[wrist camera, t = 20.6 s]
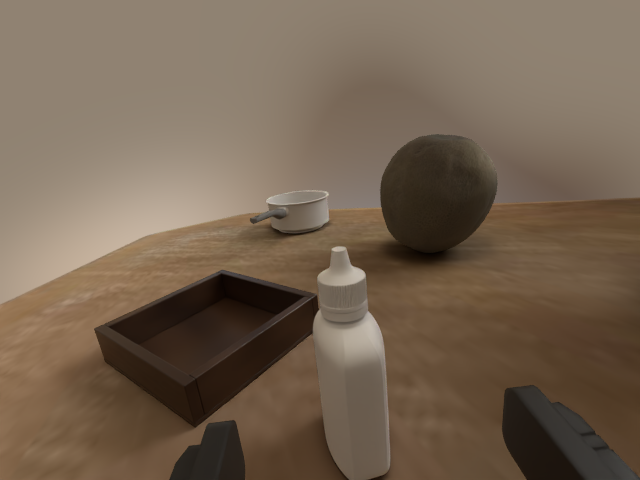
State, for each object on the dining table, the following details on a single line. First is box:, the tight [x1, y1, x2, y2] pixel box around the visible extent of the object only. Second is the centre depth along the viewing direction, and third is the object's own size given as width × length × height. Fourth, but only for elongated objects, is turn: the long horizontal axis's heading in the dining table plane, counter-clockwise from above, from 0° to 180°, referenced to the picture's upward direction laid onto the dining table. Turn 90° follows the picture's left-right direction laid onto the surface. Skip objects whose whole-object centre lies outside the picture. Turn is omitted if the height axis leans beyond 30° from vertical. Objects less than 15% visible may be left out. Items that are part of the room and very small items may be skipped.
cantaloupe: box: [380, 134, 497, 253], centre depth 47 cm, size 14×14×15 cm
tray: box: [94, 270, 319, 427], centre depth 32 cm, size 14×14×3 cm
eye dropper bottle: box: [313, 247, 390, 480], centre depth 19 cm, size 4×6×12 cm
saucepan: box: [250, 190, 329, 233], centre depth 62 cm, size 12×20×6 cm, turn 156°
